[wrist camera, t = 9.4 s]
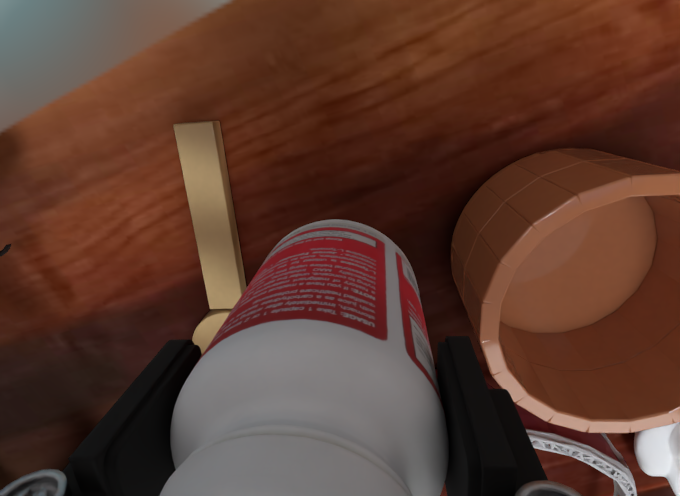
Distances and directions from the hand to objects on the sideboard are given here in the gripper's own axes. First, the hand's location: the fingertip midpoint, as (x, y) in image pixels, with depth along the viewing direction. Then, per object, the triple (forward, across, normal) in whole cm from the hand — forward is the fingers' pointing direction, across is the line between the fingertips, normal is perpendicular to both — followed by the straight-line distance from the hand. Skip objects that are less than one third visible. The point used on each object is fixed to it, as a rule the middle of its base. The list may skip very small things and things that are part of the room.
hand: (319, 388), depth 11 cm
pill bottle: (+6, 0, 0) cm, 6 cm away
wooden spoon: (+12, +7, 0) cm, 14 cm away
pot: (+12, -10, +1) cm, 16 cm away
